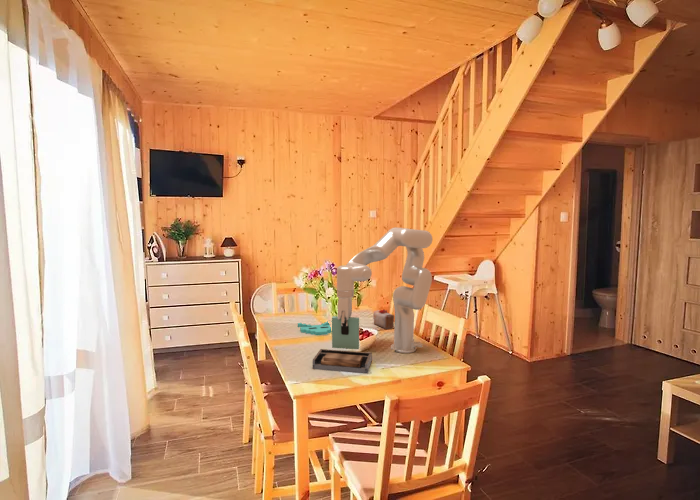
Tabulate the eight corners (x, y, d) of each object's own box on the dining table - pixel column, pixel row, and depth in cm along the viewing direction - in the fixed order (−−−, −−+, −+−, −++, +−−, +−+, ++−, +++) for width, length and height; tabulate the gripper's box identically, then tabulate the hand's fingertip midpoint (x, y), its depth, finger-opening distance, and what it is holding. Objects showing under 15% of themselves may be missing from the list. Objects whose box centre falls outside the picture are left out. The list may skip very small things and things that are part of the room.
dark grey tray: (371, 363, 196) (371, 352, 195) (367, 375, 182) (367, 364, 181) (320, 359, 200) (320, 349, 200) (312, 371, 186) (312, 359, 186)
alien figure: (297, 326, 252) (303, 337, 233) (297, 323, 252) (303, 333, 233) (330, 324, 258) (339, 334, 239) (330, 320, 258) (339, 330, 239)
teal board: (359, 347, 195) (359, 317, 193) (358, 349, 192) (358, 319, 191) (333, 345, 197) (333, 316, 195) (332, 347, 195) (331, 317, 193)
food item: (371, 324, 257) (371, 308, 256) (381, 322, 262) (382, 306, 260) (385, 330, 246) (385, 313, 245) (396, 327, 250) (396, 311, 249)
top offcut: (362, 359, 189) (362, 355, 189) (359, 364, 184) (359, 360, 183) (327, 356, 193) (327, 352, 193) (323, 360, 187) (323, 357, 187)
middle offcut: (358, 361, 191) (359, 358, 190) (357, 366, 185) (357, 363, 185) (323, 359, 193) (323, 356, 193) (320, 364, 187) (320, 361, 187)
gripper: (340, 289, 200) (341, 327, 202) (333, 297, 184) (333, 338, 187) (356, 289, 199) (356, 328, 201) (350, 297, 183) (350, 339, 185)
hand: (345, 333), depth 194 cm, fingers closed on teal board, 2 cm apart
